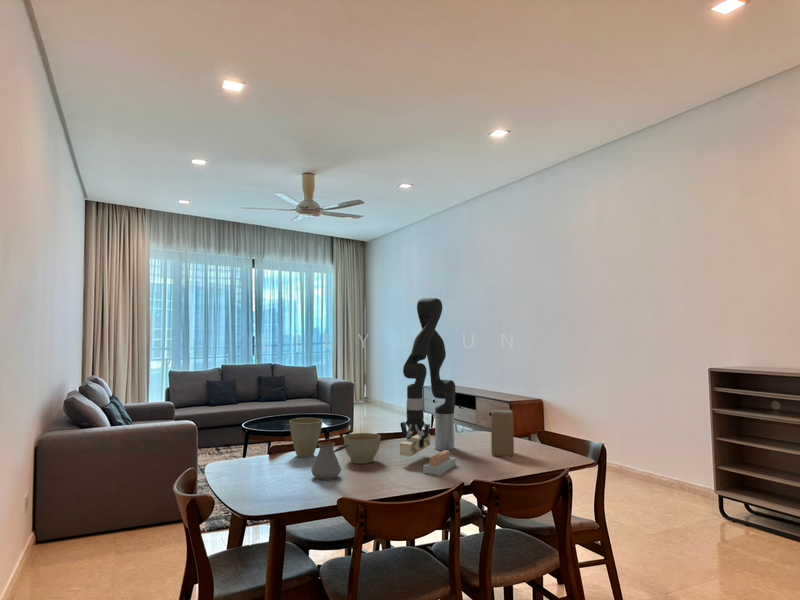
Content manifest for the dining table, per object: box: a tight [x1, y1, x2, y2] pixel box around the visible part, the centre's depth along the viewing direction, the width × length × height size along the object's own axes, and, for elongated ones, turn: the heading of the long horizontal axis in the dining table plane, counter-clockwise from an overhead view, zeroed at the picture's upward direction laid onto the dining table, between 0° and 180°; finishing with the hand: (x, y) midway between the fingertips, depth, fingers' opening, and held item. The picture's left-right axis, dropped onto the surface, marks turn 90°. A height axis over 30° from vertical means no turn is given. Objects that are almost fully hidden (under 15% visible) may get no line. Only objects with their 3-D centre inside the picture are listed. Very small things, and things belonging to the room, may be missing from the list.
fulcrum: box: [422, 450, 456, 476], centre depth 209 cm, size 18×7×6 cm, turn 154°
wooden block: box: [490, 408, 515, 458], centre depth 236 cm, size 10×10×20 cm
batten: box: [399, 432, 431, 457], centre depth 224 cm, size 22×5×5 cm, turn 155°
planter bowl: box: [343, 432, 381, 465], centre depth 221 cm, size 16×16×11 cm
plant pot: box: [289, 417, 324, 458], centre depth 231 cm, size 15×15×16 cm
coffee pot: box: [311, 441, 351, 481], centre depth 192 cm, size 21×12×15 cm, turn 38°
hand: (415, 446), depth 223 cm, fingers closed on batten, 5 cm apart
